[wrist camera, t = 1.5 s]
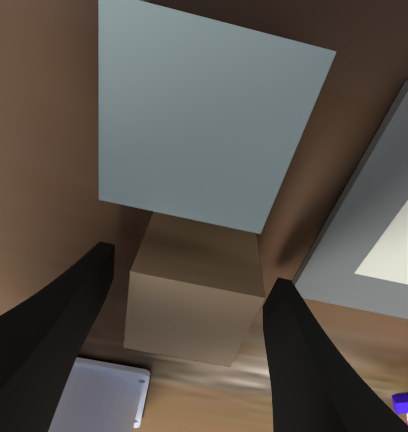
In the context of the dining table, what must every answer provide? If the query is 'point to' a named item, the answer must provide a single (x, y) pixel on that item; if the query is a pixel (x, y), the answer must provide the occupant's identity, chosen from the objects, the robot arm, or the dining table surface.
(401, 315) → the grey flat square plate
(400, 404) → the building block set
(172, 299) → the walnut block
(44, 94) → the dining table surface
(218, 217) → the pale grey cube
